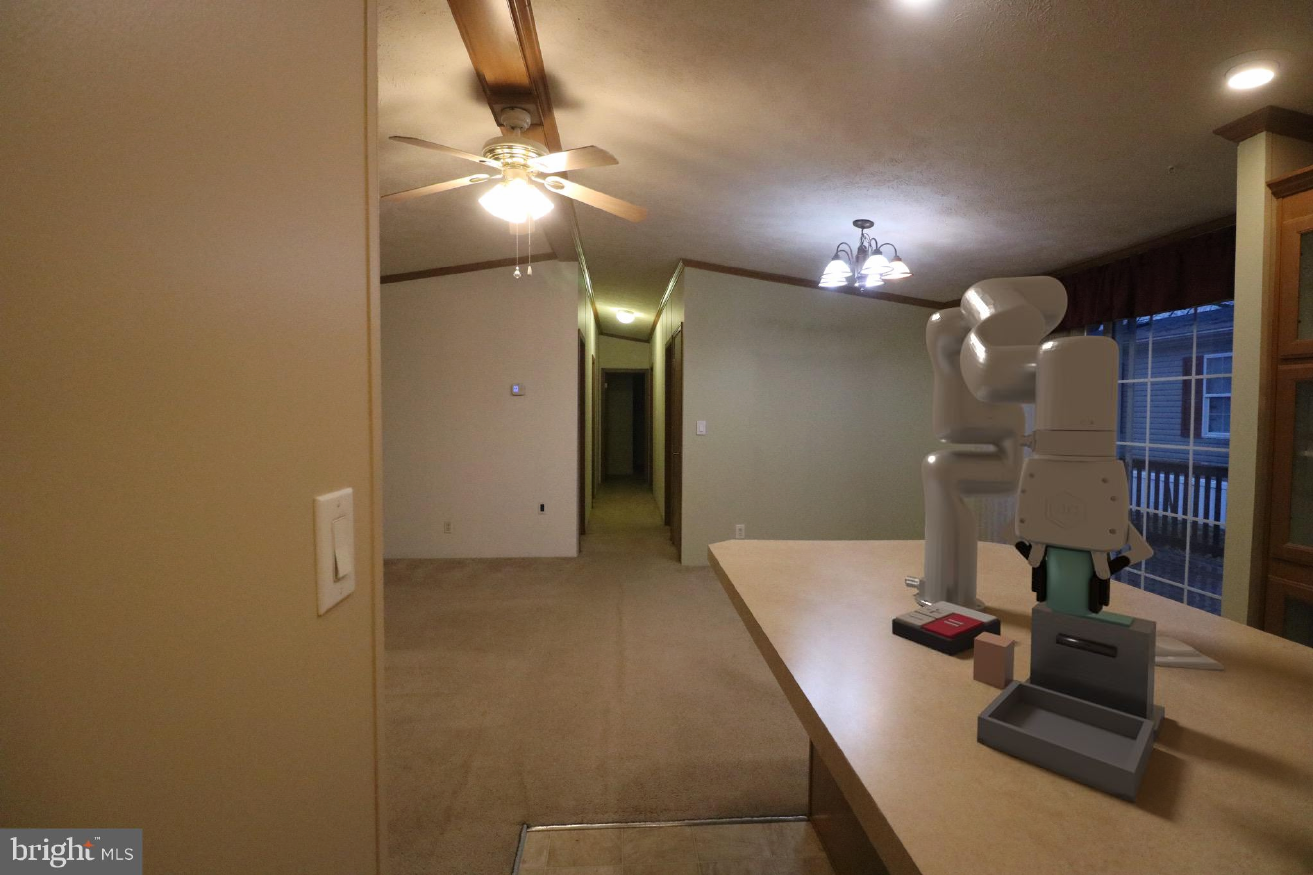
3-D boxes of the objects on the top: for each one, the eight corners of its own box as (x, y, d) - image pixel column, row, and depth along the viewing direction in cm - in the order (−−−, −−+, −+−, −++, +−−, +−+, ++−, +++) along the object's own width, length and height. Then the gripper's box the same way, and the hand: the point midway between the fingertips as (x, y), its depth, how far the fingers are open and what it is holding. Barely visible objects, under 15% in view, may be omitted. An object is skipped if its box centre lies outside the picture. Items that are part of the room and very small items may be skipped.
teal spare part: (1040, 607, 64) (1042, 547, 64) (1050, 599, 67) (1052, 542, 67) (1088, 618, 61) (1090, 554, 61) (1096, 609, 64) (1098, 548, 64)
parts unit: (1018, 696, 76) (1020, 605, 75) (1035, 678, 81) (1037, 593, 81) (1155, 741, 65) (1159, 635, 65) (1164, 716, 71) (1168, 619, 70)
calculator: (890, 615, 98) (941, 597, 106) (891, 639, 98) (941, 619, 106) (951, 636, 89) (1001, 614, 96) (951, 662, 89) (1001, 639, 97)
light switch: (1087, 620, 97) (1171, 621, 95) (1088, 644, 97) (1172, 645, 95) (1127, 645, 86) (1223, 647, 84) (1128, 671, 87) (1224, 674, 84)
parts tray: (976, 741, 65) (977, 716, 65) (1014, 701, 75) (1014, 679, 74) (1133, 802, 55) (1134, 772, 55) (1153, 747, 64) (1154, 721, 64)
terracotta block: (973, 679, 81) (974, 638, 81) (982, 671, 84) (983, 631, 83) (1004, 689, 78) (1005, 646, 78) (1013, 680, 81) (1014, 639, 80)
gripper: (980, 444, 67) (977, 594, 68) (1169, 451, 55) (1163, 634, 55) (1000, 443, 72) (997, 583, 73) (1178, 448, 60) (1172, 617, 60)
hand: (1069, 603), depth 64 cm, fingers closed on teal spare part, 4 cm apart
